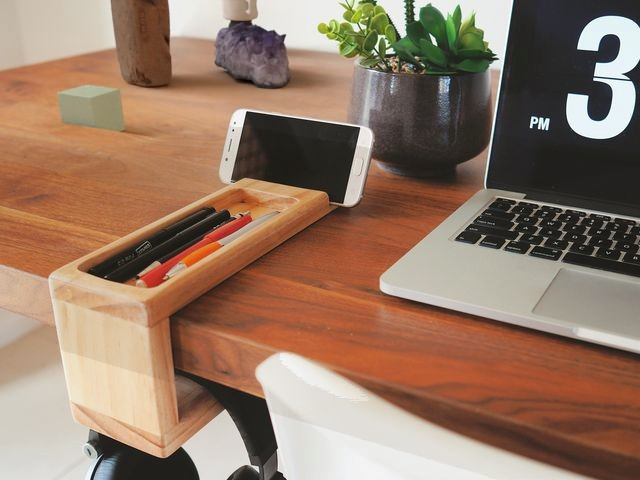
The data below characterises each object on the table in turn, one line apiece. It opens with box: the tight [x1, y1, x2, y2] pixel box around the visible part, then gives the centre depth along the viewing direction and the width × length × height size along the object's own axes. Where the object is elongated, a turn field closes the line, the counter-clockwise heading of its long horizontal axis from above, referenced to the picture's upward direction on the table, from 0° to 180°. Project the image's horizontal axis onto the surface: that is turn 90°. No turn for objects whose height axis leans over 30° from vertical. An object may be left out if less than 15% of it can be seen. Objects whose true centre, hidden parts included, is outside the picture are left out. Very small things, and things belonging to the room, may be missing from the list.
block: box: [110, 0, 173, 87], centre depth 119 cm, size 11×8×20 cm
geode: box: [213, 22, 291, 89], centre depth 127 cm, size 20×12×10 cm, turn 31°
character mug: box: [221, 0, 259, 28], centre depth 147 cm, size 11×7×13 cm, turn 35°
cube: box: [56, 84, 126, 133], centre depth 95 cm, size 6×6×6 cm
